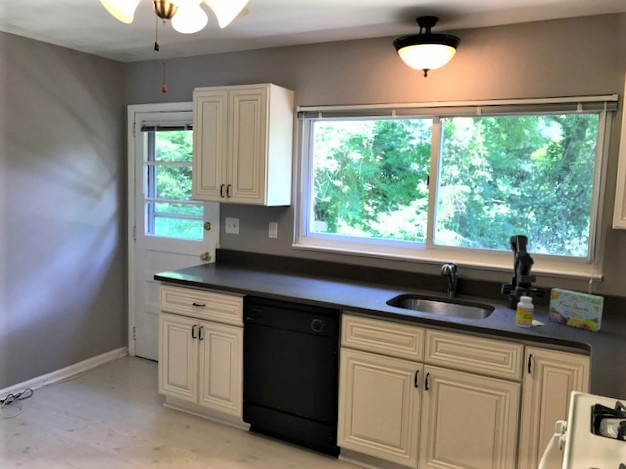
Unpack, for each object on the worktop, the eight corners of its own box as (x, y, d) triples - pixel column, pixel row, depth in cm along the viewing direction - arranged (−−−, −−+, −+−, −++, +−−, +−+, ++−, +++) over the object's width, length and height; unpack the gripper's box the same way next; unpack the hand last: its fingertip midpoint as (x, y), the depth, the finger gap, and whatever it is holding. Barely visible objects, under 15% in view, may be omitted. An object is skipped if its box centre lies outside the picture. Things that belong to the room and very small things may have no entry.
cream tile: (535, 321, 249) (535, 320, 249) (544, 325, 244) (544, 323, 244) (524, 322, 247) (524, 320, 247) (533, 325, 242) (533, 324, 242)
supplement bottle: (521, 328, 237) (524, 299, 236) (512, 323, 243) (515, 295, 242) (534, 327, 239) (537, 299, 237) (525, 323, 245) (527, 295, 244)
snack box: (547, 320, 252) (550, 289, 250) (552, 318, 256) (555, 287, 254) (596, 332, 237) (600, 298, 235) (600, 329, 241) (604, 296, 239)
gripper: (504, 266, 250) (504, 294, 240) (548, 269, 245) (549, 298, 236) (501, 279, 258) (501, 307, 249) (543, 283, 253) (545, 312, 244)
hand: (524, 306), depth 244 cm, fingers closed
